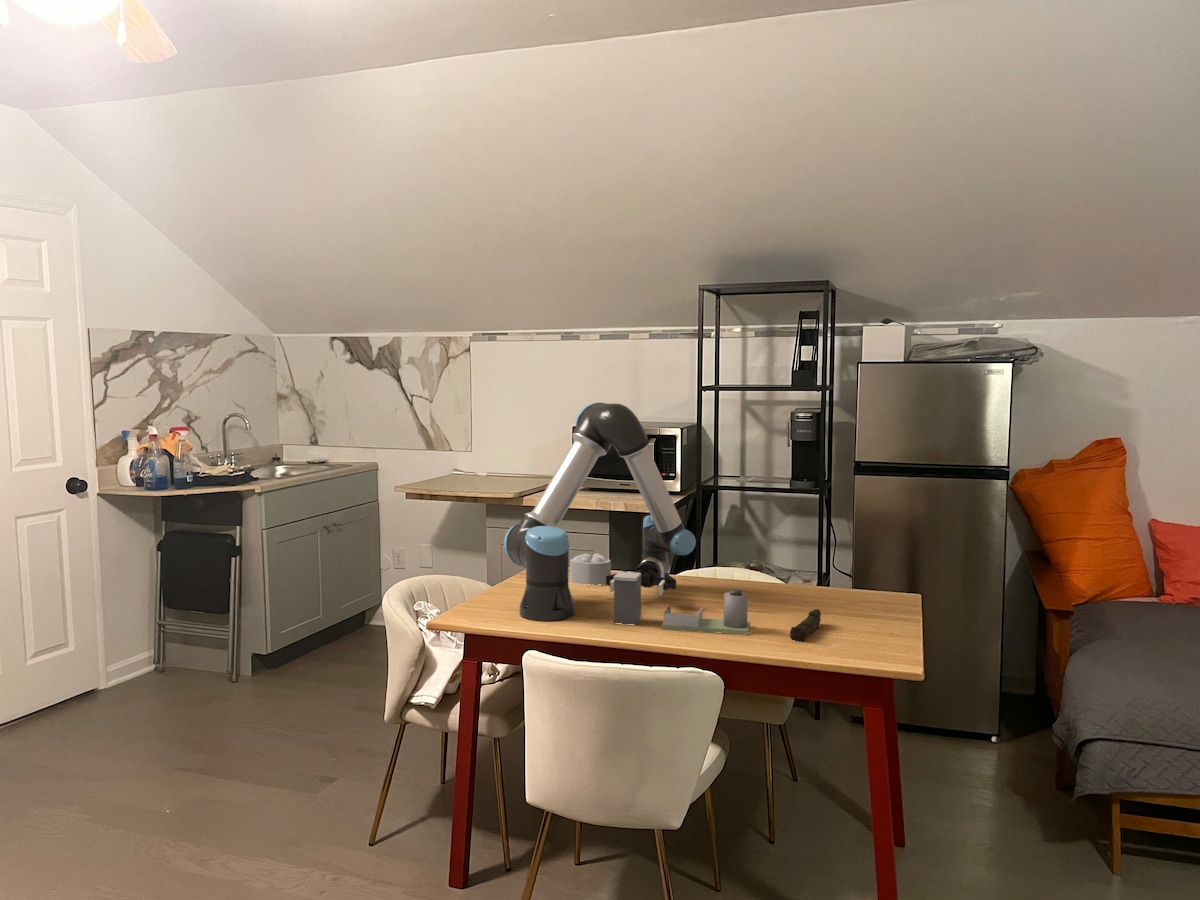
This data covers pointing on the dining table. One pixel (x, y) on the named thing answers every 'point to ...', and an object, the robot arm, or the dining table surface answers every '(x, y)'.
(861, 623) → the dining table surface
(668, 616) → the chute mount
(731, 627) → the desk organizer stand
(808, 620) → the hand tool
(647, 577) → the robot arm
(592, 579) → the lumpy-topped squat cylinder
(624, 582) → the grey block
